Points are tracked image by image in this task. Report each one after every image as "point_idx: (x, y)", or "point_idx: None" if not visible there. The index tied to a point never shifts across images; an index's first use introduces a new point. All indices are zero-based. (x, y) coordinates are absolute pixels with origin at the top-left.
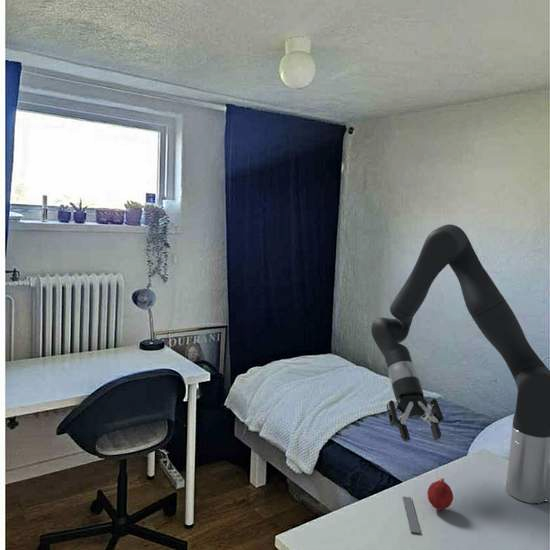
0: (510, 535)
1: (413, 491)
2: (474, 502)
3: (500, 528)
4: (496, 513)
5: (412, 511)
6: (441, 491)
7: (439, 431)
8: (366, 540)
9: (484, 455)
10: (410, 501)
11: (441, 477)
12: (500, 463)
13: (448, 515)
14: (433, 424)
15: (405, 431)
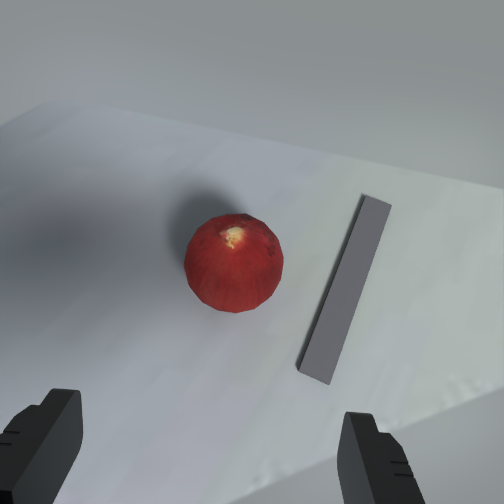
0: (107, 140)
1: (257, 421)
2: (67, 295)
3: (107, 168)
4: (49, 226)
5: (339, 288)
6: (255, 218)
7: (13, 433)
8: None
9: None
10: (316, 344)
11: (230, 235)
12: None
13: None
14: (14, 500)
15: (389, 462)
